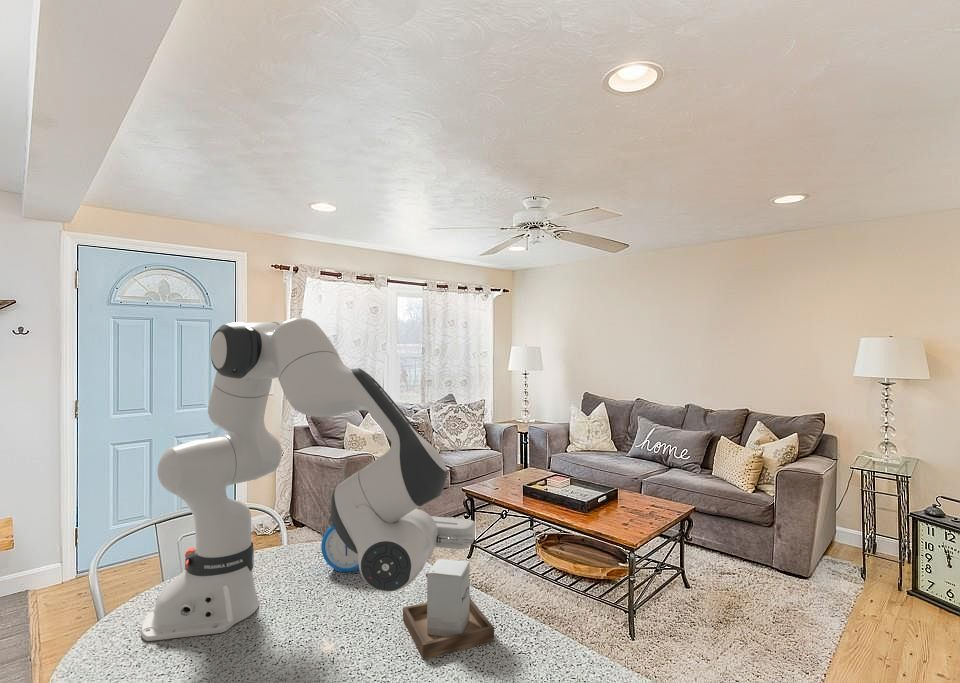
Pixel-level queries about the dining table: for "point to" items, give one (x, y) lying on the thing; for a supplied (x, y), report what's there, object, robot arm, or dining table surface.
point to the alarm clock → (338, 551)
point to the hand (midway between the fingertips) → (426, 519)
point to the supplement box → (448, 597)
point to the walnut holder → (433, 645)
